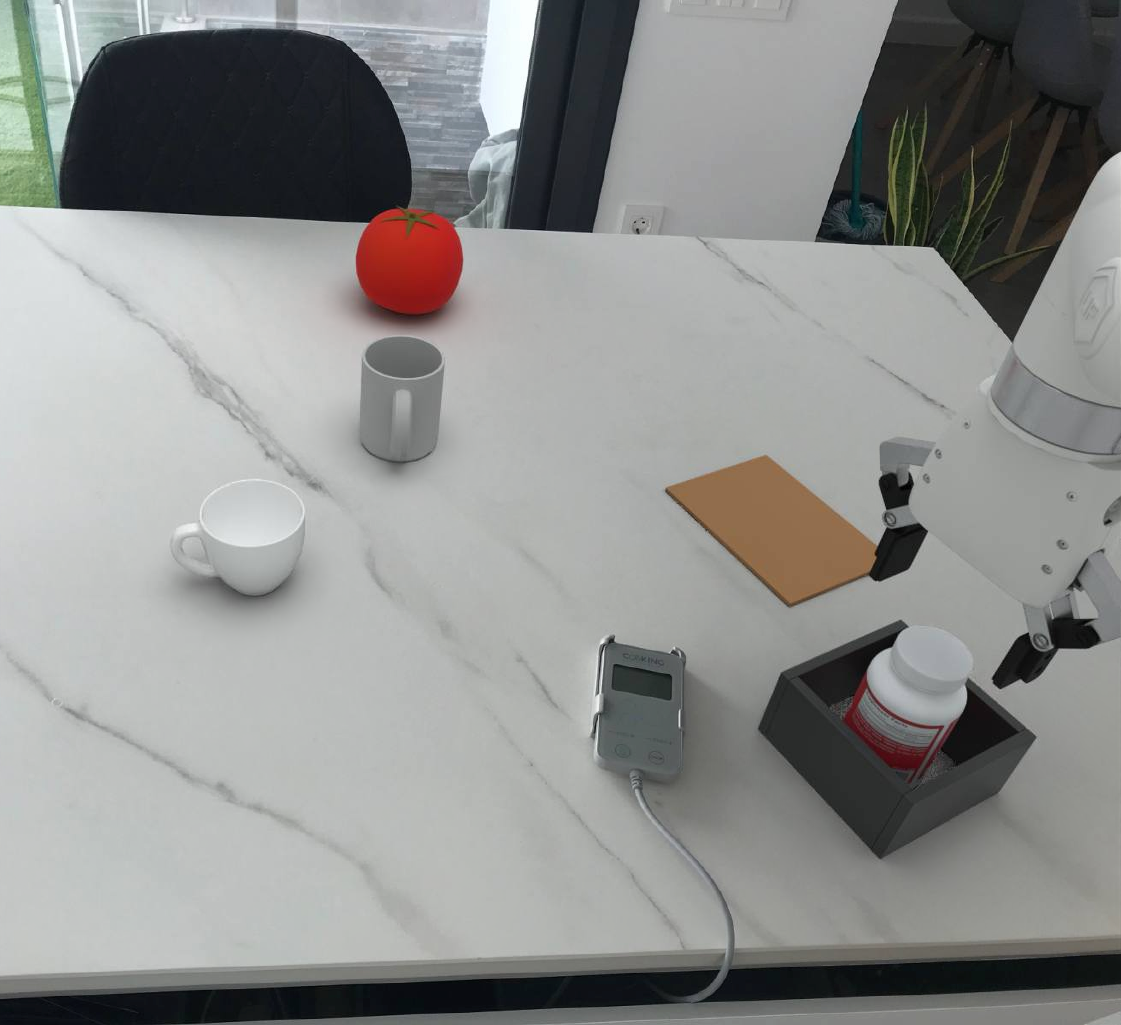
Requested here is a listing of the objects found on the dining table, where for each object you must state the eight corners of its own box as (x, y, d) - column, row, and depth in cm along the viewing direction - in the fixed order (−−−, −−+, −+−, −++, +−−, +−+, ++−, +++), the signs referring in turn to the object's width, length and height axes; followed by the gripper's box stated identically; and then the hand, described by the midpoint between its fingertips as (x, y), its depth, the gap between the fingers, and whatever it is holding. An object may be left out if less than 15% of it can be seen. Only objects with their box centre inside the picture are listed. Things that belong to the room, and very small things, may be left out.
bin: (999, 791, 74) (1037, 736, 70) (880, 859, 69) (913, 804, 65) (872, 674, 81) (900, 618, 77) (757, 728, 76) (780, 671, 72)
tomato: (464, 284, 123) (473, 196, 116) (449, 339, 113) (458, 247, 106) (367, 271, 123) (370, 183, 116) (344, 324, 114) (346, 232, 107)
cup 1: (313, 605, 82) (312, 539, 78) (178, 622, 80) (170, 555, 75) (297, 539, 88) (296, 473, 83) (171, 553, 85) (164, 486, 81)
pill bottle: (884, 715, 78) (941, 608, 71) (941, 783, 74) (1008, 676, 67) (813, 735, 76) (864, 627, 69) (867, 806, 72) (928, 698, 65)
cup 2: (436, 418, 102) (443, 337, 96) (439, 485, 95) (447, 400, 89) (360, 415, 102) (363, 332, 96) (356, 481, 94) (359, 396, 88)
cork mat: (894, 564, 91) (895, 560, 91) (789, 607, 86) (790, 603, 86) (765, 457, 101) (766, 454, 101) (664, 490, 96) (665, 487, 96)
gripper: (1279, 475, 51) (1107, 702, 63) (986, 301, 62) (884, 521, 74) (1186, 518, 48) (1022, 749, 60) (895, 328, 59) (804, 553, 71)
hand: (946, 623), depth 67 cm, fingers open, 9 cm apart
